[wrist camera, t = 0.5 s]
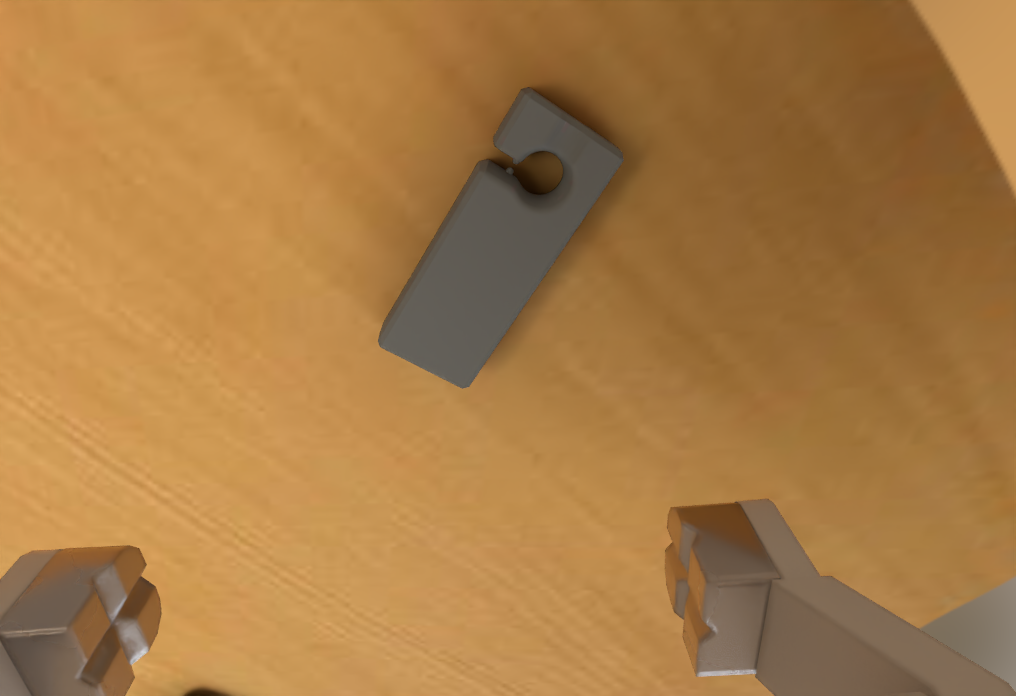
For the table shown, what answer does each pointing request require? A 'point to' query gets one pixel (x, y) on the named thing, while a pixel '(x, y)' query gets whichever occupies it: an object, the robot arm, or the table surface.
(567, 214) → the bracket
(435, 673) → the table surface
